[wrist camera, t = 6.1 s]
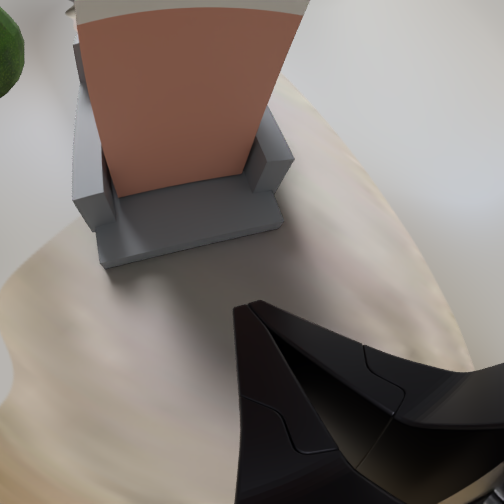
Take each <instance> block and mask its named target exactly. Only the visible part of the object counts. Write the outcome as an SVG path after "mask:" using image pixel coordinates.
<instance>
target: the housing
mask: <svg viewBox="0 0 504 504" xmlns="http://www.w3.org/2000/svg"><path fill="white" fill-rule="evenodd" d="M73 48H74V54H75V59H76V65H77V70H78V74H79V79H80V88H79V95H78V101H77V110H76V118H75V129H74V142H73V163H72V200H73V202H74V204H75V206H76V207H77V209H78V210H79V212H80V214H81V215H82V217H83V218H84V220H85V221H86V223H87V225H88V226H89V228H90V229H91V231H92V232H96V238H97V246H98V253H99V260H100V264H101V265H102V266H103V267H104V269H107V268H111V267H115V266H119V265H123V264H127V263H131V262H136V261H140V260H144V259H148V258H152V257H156V256H160V255H164V254H169V253H173V252H177V251H181V250H186V249H190V248H194V247H198V246H203V245H207V244H211V243H216V242H220V241H224V240H229V239H233V238H238V237H242V236H246V235H251V234H255V233H260V232H264V231H269V230H273V229H278V228H279V227H280V226H281V225H282V223H283V222H284V219H283V217H282V214H281V211H280V209H279V206H278V204H277V201H276V199H275V196H274V193H275V192H276V190H277V188H278V187H279V185H280V183H281V181H282V180H283V178H284V176H285V175H286V173H287V171H288V169H289V168H290V166H291V164H292V163H293V161H294V157H293V155H292V152H291V150H290V148H289V146H288V144H287V142H286V140H285V138H284V136H283V134H282V132H281V130H280V128H279V126H278V125H277V123H276V121H275V119H274V117H273V115H272V113H271V111H270V109H269V107H268V105H267V106H266V109H265V112H264V114H263V117H262V120H261V122H260V125H259V128H258V130H257V133H256V136H255V138H254V141H253V144H252V147H251V149H250V152H249V155H248V158H247V160H246V163H245V166H244V169H243V172H242V174H237V175H231V176H225V177H218V178H212V179H207V180H201V181H195V182H190V183H185V184H180V185H174V186H169V187H165V188H160V189H155V190H150V191H146V192H141V193H137V194H133V195H128V196H124V197H120V198H118V195H117V193H116V190H115V187H114V184H113V181H112V178H111V174H110V171H109V168H108V165H107V162H106V158H105V155H104V152H103V148H102V145H101V141H100V137H99V134H98V130H97V126H96V122H95V118H94V114H93V110H92V106H91V102H90V97H89V93H88V88H87V84H86V79H85V74H84V68H83V63H82V57H81V51H80V44H79V37H78V32H77V35H76V37H75V40H74V43H73Z"/></svg>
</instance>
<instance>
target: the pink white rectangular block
mask: <svg viewBox="0 0 504 504" xmlns="http://www.w3.org/2000/svg"><path fill="white" fill-rule="evenodd" d="M74 1H75V12H76V22H77V30H78V37H79V44H80V51H81V57H82V63H83V68H84V74H85V79H86V84H87V88H88V93H89V97H90V102H91V106H92V110H93V114H94V118H95V122H96V126H97V130H98V134H99V137H100V141H101V145H102V148H103V152H104V155H105V158H106V162H107V165H108V168H109V171H110V174H111V178H112V181H113V184H114V187H115V190H116V193H117V195H118V198H120V197H124V196H128V195H133V194H137V193H141V192H146V191H150V190H155V189H160V188H165V187H169V186H174V185H180V184H185V183H190V182H195V181H201V180H207V179H212V178H218V177H225V176H231V175H237V174H242V172H243V169H244V166H245V163H246V160H247V158H248V155H249V152H250V149H251V147H252V144H253V141H254V138H255V136H256V133H257V130H258V128H259V125H260V122H261V120H262V117H263V114H264V112H265V109H266V106H267V104H268V101H269V99H270V96H271V94H272V91H273V88H274V86H275V83H276V81H277V78H278V76H279V73H280V71H281V68H282V66H283V63H284V61H285V58H286V55H287V53H288V51H289V48H290V46H291V44H292V41H293V39H294V36H295V34H296V31H297V29H298V27H299V25H300V22H301V20H302V17H303V15H304V13H305V11H306V8H307V5H308V4H309V1H310V0H74Z"/></svg>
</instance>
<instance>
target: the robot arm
mask: <svg viewBox="0 0 504 504" xmlns="http://www.w3.org/2000/svg"><path fill="white" fill-rule="evenodd" d="M233 325H234V340H235V355H236V369H237V382H238V395H239V409H240V448H239V460H238V471H237V482H236V493H235V502H234V504H504V363H501V364H498V365H495V366H492V367H488V368H485V369H482V370H478V371H473V372H453V371H448V370H444V369H440V368H436V367H432V366H428V365H425V364H421V363H417V362H413V361H410V360H406V359H403V358H400V357H397V356H393V355H391V354H388V353H385V352H382V351H380V350H377V349H374V348H372V347H369V346H367V345H362V343H359V342H357V341H354V340H352V339H350V338H347V337H345V336H342V335H340V334H338V333H335V332H333V331H330V330H328V329H326V328H323V327H321V326H319V325H316V324H314V323H312V322H309V321H307V320H305V319H303V318H300V317H298V316H296V315H293V314H291V313H289V312H287V311H284V310H282V309H280V308H278V307H275V306H273V305H271V304H269V303H267V302H264V301H262V300H257V301H254V302H251V303H248V304H247V305H245V304H244V305H241V306H237V307H234V308H233Z"/></svg>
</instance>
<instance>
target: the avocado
mask: <svg viewBox="0 0 504 504" xmlns="http://www.w3.org/2000/svg"><path fill="white" fill-rule="evenodd" d="M23 66H24V40H23V37H22V34H21V31H20V29H19V26H18V25H17V24H16V23H15V22H14V20H13V19H12V18H11V17H10V16H9V15H8V14H7V13H6V12H5V11H4V10H3V9H2V8H1V7H0V98H1V97H2V96H4V95H5V94H7V93H8V91H9V90H10V89H11V88H12V87H13V86H14V85H15V83H16V82H17V81H18V80H19V77H20V75H21V73H22V70H23Z"/></svg>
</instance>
